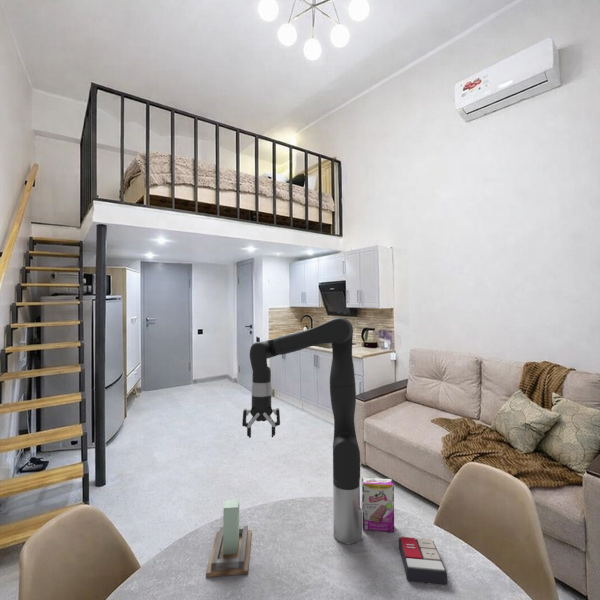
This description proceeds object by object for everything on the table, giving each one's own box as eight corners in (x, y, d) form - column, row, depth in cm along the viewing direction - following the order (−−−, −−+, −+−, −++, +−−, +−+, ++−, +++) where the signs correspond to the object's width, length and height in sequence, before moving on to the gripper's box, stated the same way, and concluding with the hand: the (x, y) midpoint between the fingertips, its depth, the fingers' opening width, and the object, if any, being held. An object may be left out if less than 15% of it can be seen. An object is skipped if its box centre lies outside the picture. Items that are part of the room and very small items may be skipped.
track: (251, 532, 115) (251, 523, 115) (247, 574, 96) (247, 563, 96) (216, 534, 113) (216, 525, 114) (205, 577, 95) (206, 566, 95)
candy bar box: (362, 531, 115) (362, 483, 116) (361, 522, 120) (360, 476, 121) (395, 533, 114) (394, 484, 115) (392, 524, 119) (391, 478, 120)
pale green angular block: (238, 544, 107) (239, 499, 108) (237, 553, 103) (237, 507, 104) (225, 544, 107) (225, 500, 108) (222, 554, 102) (223, 507, 103)
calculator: (433, 537, 107) (447, 569, 92) (433, 552, 106) (448, 586, 91) (398, 534, 108) (406, 565, 93) (398, 549, 108) (407, 582, 93)
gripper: (241, 396, 121) (241, 441, 120) (280, 395, 122) (280, 439, 121) (243, 392, 129) (243, 434, 127) (279, 391, 130) (279, 433, 129)
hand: (261, 436), depth 124 cm, fingers open, 8 cm apart
